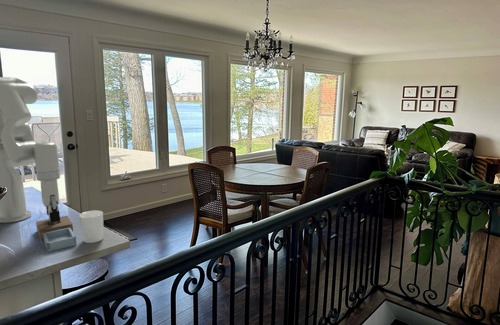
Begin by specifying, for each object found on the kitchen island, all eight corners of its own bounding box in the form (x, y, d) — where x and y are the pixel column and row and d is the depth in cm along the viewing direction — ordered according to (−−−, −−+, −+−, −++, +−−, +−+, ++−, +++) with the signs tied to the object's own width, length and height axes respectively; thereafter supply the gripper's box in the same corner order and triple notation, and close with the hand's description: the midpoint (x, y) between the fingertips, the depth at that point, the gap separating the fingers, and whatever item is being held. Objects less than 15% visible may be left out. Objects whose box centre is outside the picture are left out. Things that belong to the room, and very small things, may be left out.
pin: (50, 231, 132) (46, 203, 130) (58, 230, 134) (55, 202, 131) (51, 234, 130) (47, 205, 127) (60, 232, 131) (56, 204, 129)
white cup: (106, 241, 124) (104, 215, 122) (82, 245, 120) (79, 219, 118) (103, 233, 131) (101, 209, 129) (81, 237, 127) (78, 212, 125)
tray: (43, 240, 124) (42, 233, 123) (71, 234, 129) (70, 227, 129) (47, 251, 115) (46, 243, 115) (76, 244, 121) (75, 237, 120)
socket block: (37, 230, 133) (36, 221, 132) (68, 224, 139) (67, 215, 138) (40, 240, 124) (39, 230, 123) (73, 233, 131) (72, 223, 130)
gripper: (34, 172, 132) (39, 213, 135) (39, 181, 118) (45, 226, 121) (56, 169, 136) (61, 209, 139) (63, 178, 123) (68, 222, 126)
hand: (53, 217), depth 130 cm, fingers open, 9 cm apart
